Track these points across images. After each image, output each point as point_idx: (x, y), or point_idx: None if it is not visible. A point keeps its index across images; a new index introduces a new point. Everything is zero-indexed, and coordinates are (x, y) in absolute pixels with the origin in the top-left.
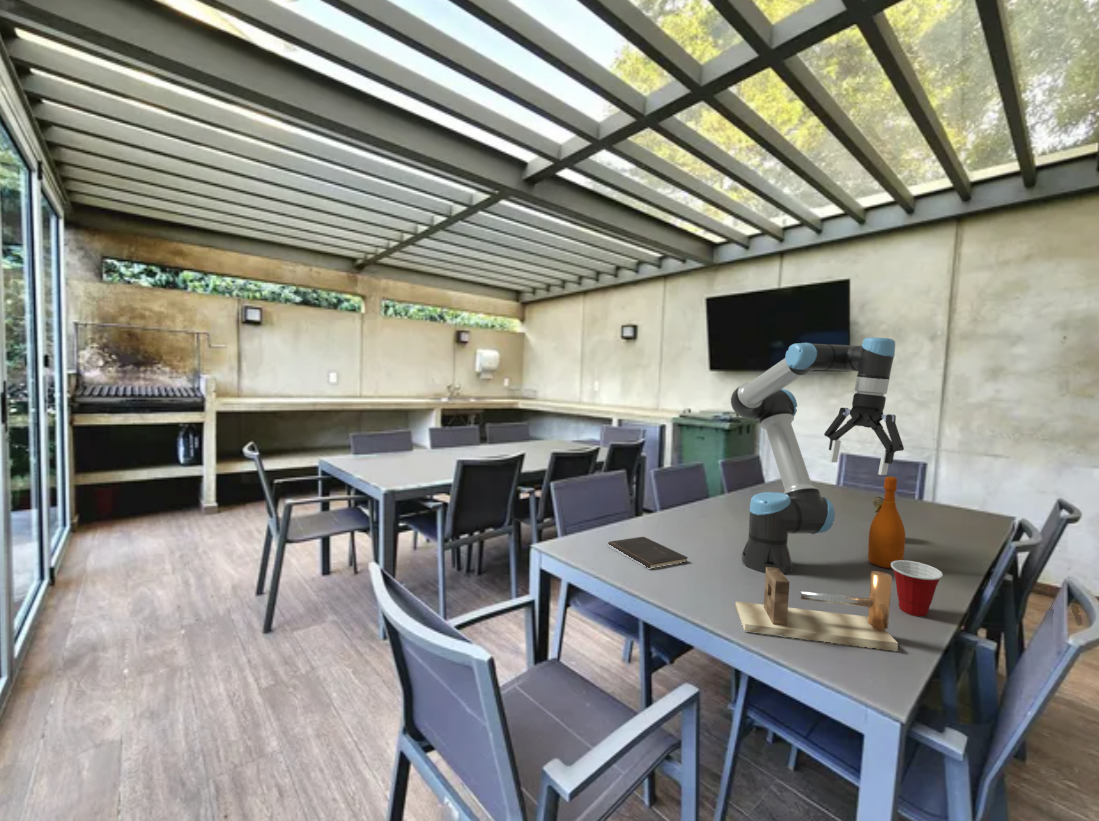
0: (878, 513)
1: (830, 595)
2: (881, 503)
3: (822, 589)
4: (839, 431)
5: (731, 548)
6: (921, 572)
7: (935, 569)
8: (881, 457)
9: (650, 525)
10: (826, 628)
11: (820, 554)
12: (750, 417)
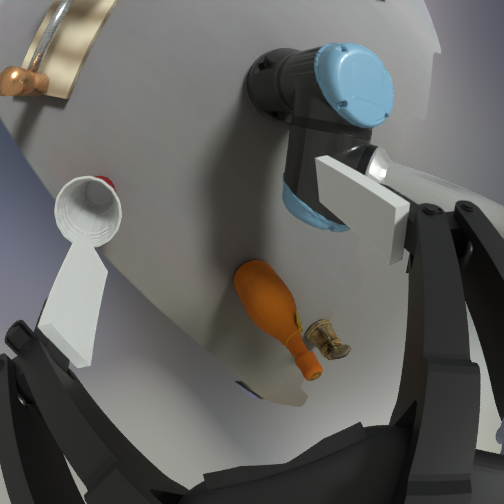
0: (290, 313)
1: (52, 17)
2: (339, 352)
3: (181, 104)
4: (440, 262)
5: None
6: (104, 232)
7: None
8: (61, 290)
9: (428, 55)
10: None
11: None
12: None
